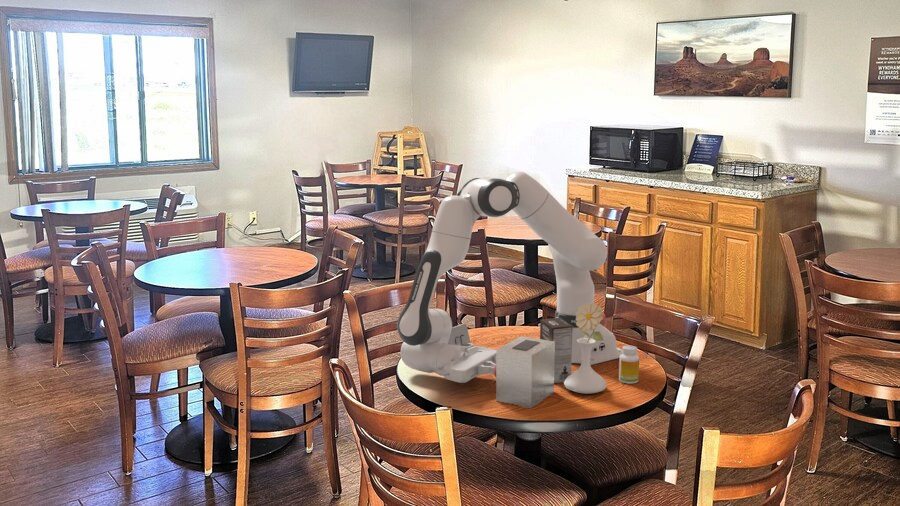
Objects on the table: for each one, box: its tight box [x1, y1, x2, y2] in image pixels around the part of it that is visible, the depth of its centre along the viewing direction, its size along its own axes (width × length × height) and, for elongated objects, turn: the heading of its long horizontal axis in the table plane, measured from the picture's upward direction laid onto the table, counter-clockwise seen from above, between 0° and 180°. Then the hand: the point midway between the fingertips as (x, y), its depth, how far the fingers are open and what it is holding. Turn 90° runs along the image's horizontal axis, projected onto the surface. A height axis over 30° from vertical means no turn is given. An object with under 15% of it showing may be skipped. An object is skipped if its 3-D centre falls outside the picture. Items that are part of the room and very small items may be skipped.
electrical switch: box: [449, 323, 471, 345], centre depth 255 cm, size 9×5×9 cm, turn 141°
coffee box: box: [539, 317, 573, 384], centre depth 233 cm, size 9×6×16 cm
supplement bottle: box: [618, 344, 640, 385], centre depth 231 cm, size 5×5×10 cm
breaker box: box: [495, 335, 555, 409], centre depth 219 cm, size 10×14×14 cm
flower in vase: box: [563, 301, 608, 395], centre depth 222 cm, size 13×11×25 cm
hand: (498, 369), depth 223 cm, fingers closed, pressing on breaker plunger
